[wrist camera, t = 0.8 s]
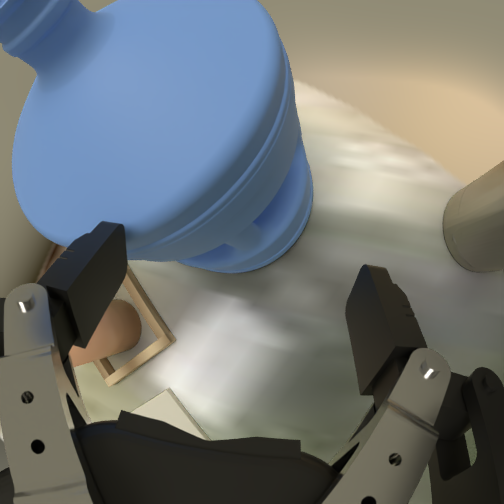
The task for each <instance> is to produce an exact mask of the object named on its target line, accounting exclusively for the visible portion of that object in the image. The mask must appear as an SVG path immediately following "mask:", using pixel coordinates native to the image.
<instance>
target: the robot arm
mask: <svg viewBox="0 0 504 504" xmlns="http://www.w3.org/2000/svg"><path fill="white" fill-rule="evenodd" d="M443 231H444V237H445V241H446V244H447V246H448V249H449V251H450V252H451V254H452V256H453V257H454V258H455V260H456V261H457V262H458V263H459V264H460V265H461V266H463V267H464V268H466V269H468V270H470V271H473V272H487V271H500V270H504V161H502V162H501V163H500V164H498V165H497V166H495V167H494V168H493V169H491V170H490V171H488V172H487V173H485V174H484V175H482V176H481V177H480V178H478V179H477V180H475V181H473V182H472V183H470V184H469V185H467V186H466V187H465V188H463V189H462V190H460V191H459V192H457V193H456V194H455V195H454V196H453V197H452V198H451V199H450V201H449V202H448V204H447V207H446V209H445V212H444V219H443ZM127 266H128V261H127V250H126V237H125V228H124V225H123V224H120V223H113V222H107V221H101V222H100V223H99V224H98V225H97V226H96V227H95V228H94V229H93V230H92V231H91V233H86V234H84V235H82V236H80V237H79V238H77V239H75V240H74V241H73V242H72V243H71V244H70V245H69V246H68V248H67V249H66V251H64V252H63V253H62V254H61V255H60V258H58V259H57V260H56V261H55V262H54V263H53V265H52V266H51V267H50V268H49V269H48V270H47V272H46V273H45V274H44V275H43V276H42V278H41V279H40V280H39V281H38V282H37V284H34V283H29V284H24V285H21V286H19V287H17V288H15V289H14V290H12V292H10V293H9V295H8V296H7V298H0V420H1V427H2V433H3V439H4V444H5V450H6V454H7V459H8V463H9V467H8V468H6V469H4V470H3V471H1V472H0V504H408V502H409V500H410V498H411V497H412V495H413V493H414V491H415V489H416V487H417V485H418V483H419V481H420V479H421V477H422V475H423V472H424V470H425V468H426V466H427V464H428V466H429V474H430V483H431V492H432V504H504V387H503V384H502V382H501V380H500V379H499V377H498V376H497V375H496V374H495V373H494V372H493V371H491V370H490V369H488V368H484V367H479V368H477V369H475V371H474V372H473V373H472V374H471V375H470V376H469V377H466V376H463V375H460V374H457V373H453V372H451V371H450V367H449V365H448V363H447V361H446V360H445V359H444V357H443V356H441V355H440V354H439V353H438V352H436V351H434V350H432V349H428V347H427V345H426V342H425V340H424V337H423V334H422V332H421V329H420V327H419V325H418V322H417V320H416V318H415V317H414V316H415V315H414V313H413V310H412V308H410V307H411V306H410V303H409V301H408V299H407V296H406V294H405V293H404V292H403V291H402V290H401V289H400V288H399V287H398V286H397V284H393V283H392V280H391V278H390V276H389V274H388V271H387V269H386V268H384V267H378V266H372V265H366V264H365V265H363V266H362V268H361V269H360V272H359V274H358V276H357V279H356V281H355V284H354V286H353V288H352V291H351V293H350V295H349V298H348V300H347V304H346V312H345V314H346V321H347V325H348V330H349V335H350V340H351V345H352V351H353V356H354V361H355V367H356V372H357V378H358V384H359V390H360V395H373V397H374V402H373V404H372V405H371V406H370V407H369V409H368V411H367V412H366V414H365V415H364V417H363V418H362V420H361V421H360V423H359V424H358V426H357V427H356V429H355V430H354V431H353V433H352V434H351V436H350V437H349V439H348V440H347V441H346V443H345V444H344V445H343V447H342V448H341V449H340V450H339V452H338V453H337V454H336V455H335V456H334V457H333V458H332V459H331V461H330V462H329V463H328V464H327V463H326V462H324V461H322V460H321V459H319V458H317V457H315V456H312V455H310V454H308V453H305V452H301V442H300V440H288V439H275V438H264V437H250V438H240V439H229V440H216V441H209V440H204V439H202V438H199V437H197V436H195V435H192V434H190V433H188V432H186V431H183V430H181V429H179V428H177V427H175V426H173V425H170V424H168V423H166V422H164V421H161V420H157V419H153V418H149V417H145V416H141V415H137V414H134V413H130V412H126V411H123V410H121V412H120V415H119V418H118V420H110V421H100V422H94V423H92V422H91V419H90V417H89V415H88V413H87V411H86V408H85V406H84V403H83V400H82V396H81V393H80V390H79V386H78V383H77V379H76V375H75V371H74V367H73V363H72V359H71V356H70V353H69V352H70V350H71V348H72V346H73V345H74V346H77V347H80V348H84V349H86V347H87V345H88V343H89V341H90V339H91V337H92V335H93V334H94V332H95V330H96V328H97V326H98V324H99V323H100V321H101V319H102V317H103V315H104V314H105V312H106V310H107V308H108V306H109V305H110V303H111V301H112V299H113V298H114V296H115V294H116V293H117V291H118V289H119V287H120V286H121V284H122V282H123V281H124V279H125V276H126V273H127ZM470 428H472V431H473V435H474V439H475V444H476V448H477V458H476V461H475V462H474V464H473V465H472V466H471V465H470V459H469V454H468V449H467V444H466V440H465V435H464V433H465V432H467V431H468V430H469V429H470Z"/></svg>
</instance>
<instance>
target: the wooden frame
mask: <svg viewBox="0 0 504 504" xmlns="http://www.w3.org/2000/svg"><path fill="white" fill-rule="evenodd" d="M123 284H124V286H125V287H126V289H127V291H128V293H129V294H130V296H131V297H132V299H133V301H134V302H135V304H136V306H137V307H138V309H139V310H140V312H141V314H142V315H143V317H144V318H145V320H146V321H147V323H148V325H149V326H150V328H151V329H152V331H153V332H154V334H155V335H156V337H157V338H158V340H157V341H155V342H154V343H153V344H151V345H150V346H149V347H147V348H146V349H145V350H143V351H142V352H141V353H139V354H138V355H137V356H135V357H134V358H133V359H131V360H130V361H129V362H127V363H126V364H125V365H123V366H122V367H121V368H119V369H118V370H117V371H115V370H114V369H113V367H112V366H111V364H110V362H109V361H108V359H107V358H106V357H105V358H102V359H99V360H96V361H93V362H94V364H95V365H96V367H97V369H98V370H99V372H100V373H101V375H102V377H103V378H104V380H105V381H106V383H107V384H108V386H109V387H110V386H112V385H115V384H116V383H118V382H119V381H121V380H122V379H123V378H125V377H126V376H128V375H129V374H130V373H132V372H133V371H135V370H136V369H137V368H139V367H140V366H141V365H143V364H144V363H146V362H147V361H148V360H150V359H151V358H152V357H154V356H155V355H157V354H158V353H159V352H161V351H162V350H163V349H165V348H166V347H167V346H169V345H170V344H172V343H173V342H174V341H176V339H175V338H174V336H173V335H172V333H171V332H170V330H169V329H168V327H167V326H166V324H165V323H164V321H163V320H162V318H161V317H160V315H159V314H158V312H157V311H156V309H155V308H154V306H153V304H152V303H151V301H150V300H149V298H148V297H147V295H146V293H145V292H144V290H143V289H142V287H141V285H140V284H139V282H138V281H137V279H136V277H135V276H134V274H133V272H132V271H131V269H130V267H129V266H127V273H126V276H125V279H124V281H123Z"/></svg>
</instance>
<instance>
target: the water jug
mask: <svg viewBox="0 0 504 504" xmlns="http://www.w3.org/2000/svg"><path fill="white" fill-rule="evenodd" d="M0 43H2V47H3V50H4V51H5V52H7V53H8V54H10V55H11V56H14V57H18V58H20V59H21V60H23V61H24V62H26V63H27V64H29V65H30V66H32V67H33V68H34V69H35V71H36V73H37V76H36V79H35V81H34V83H33V85H32V88H31V90H30V92H29V95H28V97H27V99H26V102H25V105H24V107H23V110H22V112H21V115H20V118H19V122H18V125H17V129H16V133H15V138H14V144H13V154H12V174H13V182H14V188H15V192H16V195H17V198H18V202H19V204H20V206H21V208H22V211H23V212H24V214H25V216H26V217H27V219H28V220H29V222H30V223H31V224H32V225H33V226H34V228H35V229H36V230H37V231H38V232H40V233H41V234H42V235H43V236H45V237H46V238H48V239H49V240H51V241H53V242H55V243H57V244H59V245H62V246H65V247H68V246H69V245H70V244H71V243H72V242H73V241H74V240H75V239H77V238H79V237H80V236H82V235H84V234H86V233H91V231H92V230H93V229H94V228H95V227H96V226H97V225H98V224H99V223H100V222H101V221H107V222H113V223H120V224H123V225H124V228H125V237H126V250H127V260H147V261H158V262H165V261H177V262H179V263H182V264H185V265H188V266H192V267H197V268H203V269H206V270H209V271H214V272H221V273H242V272H248V271H252V270H255V269H258V268H261V267H263V266H265V265H268V264H269V263H271V262H273V261H275V260H276V259H278V258H279V257H280V256H282V255H283V254H284V253H285V252H286V251H287V250H288V249H289V248H290V247H291V246H292V245H293V244H294V243H295V242H296V240H297V239H298V238H299V236H300V235H301V233H302V231H303V229H304V228H305V226H306V223H307V221H308V218H309V215H310V212H311V208H312V202H313V183H312V176H311V171H310V166H309V163H308V161H307V158H306V153H305V149H304V145H303V141H302V137H301V135H302V133H301V127H300V123H299V118H298V115H297V108H296V104H295V90H294V82H293V77H292V72H291V68H290V64H289V60H288V56H287V53H286V51H285V48H284V45H283V43H282V41H281V39H280V37H279V34H278V31H277V28H276V26H275V24H274V22H273V20H272V18H271V16H270V15H269V13H268V12H267V10H266V9H265V8H264V7H263V6H262V5H261V4H260V3H259V2H258V1H257V0H118V1H116V2H114V3H112V4H110V5H108V6H106V7H104V8H102V9H101V10H99V11H97V12H91V11H89V10H88V9H86V8H85V7H84V6H83V5H82V4H81V3H80V2H79V1H78V0H0Z"/></svg>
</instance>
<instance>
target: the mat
mask: <svg viewBox="0 0 504 504" xmlns="http://www.w3.org/2000/svg"><path fill="white" fill-rule="evenodd" d="M130 413H134V414H137V415H141V416H145V417H149V418H153V419H157V420H161V421H164V422H166V423H168V424H170V425H173V426H175V427H177V428H179V429H181V430H183V431H186V432H188V433H190V434H192V435H195V436H197V437H199V438H202V439H204V440H209V441H211V440H210V439H209V438H208V436H207V435H206V434H205V433H204V432H203V430H202V429H201V428H200V427H199V425H198V424H197V423H196V422H195V421H194V419H193V418H192V417H191V416H190V414H189V413H188V412H187V410H186V409H185V408H184V407H183V405H182V404H181V403H180V401H179V400H178V399H177V397H176V396H175V395H174V393H173V392H172V391H171V389H170V388H168V389H167V390H165V391H164V392H162V393H160V394H159V395H157V396H156V397H154V398H153V399H151V400H149V401H148V402H146V403H145V404H143V405H141V406H140V407H138V408H137V409H135V410H133V411H132V412H130Z"/></svg>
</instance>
